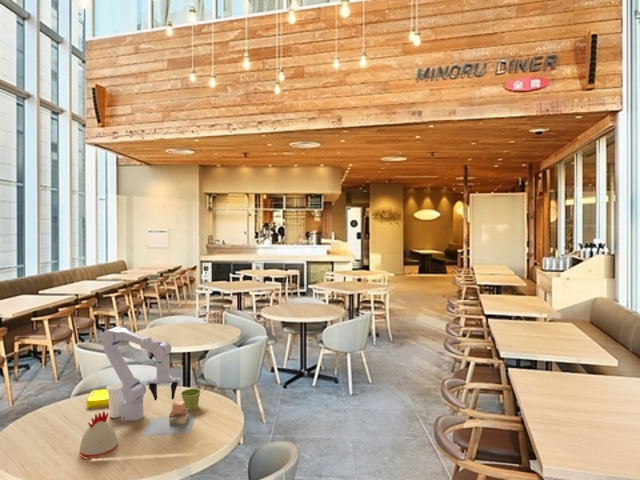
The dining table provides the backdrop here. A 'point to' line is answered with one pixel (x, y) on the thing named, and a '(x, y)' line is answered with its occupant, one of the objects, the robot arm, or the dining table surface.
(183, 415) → the birch socket block
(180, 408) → the terracotta block
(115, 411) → the cup
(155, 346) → the robot arm
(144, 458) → the dining table surface
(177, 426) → the grey board
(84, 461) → the dining table surface
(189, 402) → the plant pot
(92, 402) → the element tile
